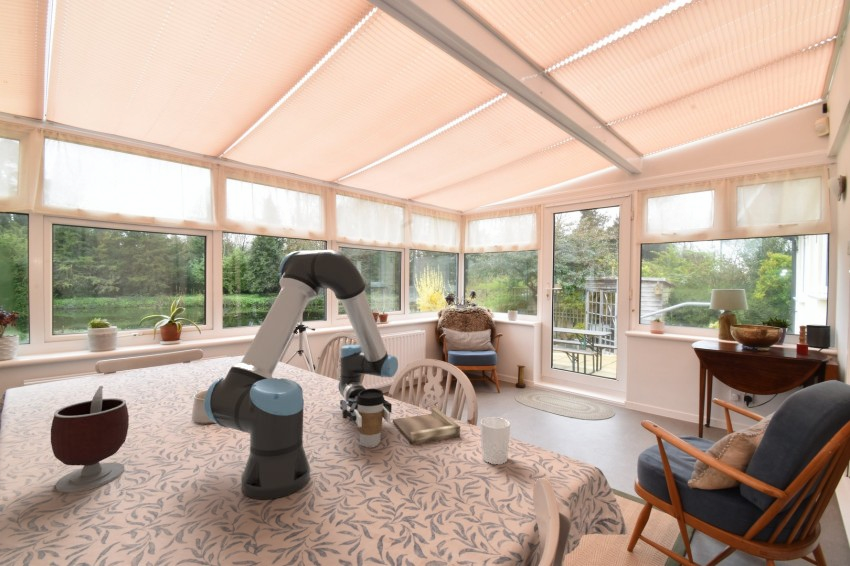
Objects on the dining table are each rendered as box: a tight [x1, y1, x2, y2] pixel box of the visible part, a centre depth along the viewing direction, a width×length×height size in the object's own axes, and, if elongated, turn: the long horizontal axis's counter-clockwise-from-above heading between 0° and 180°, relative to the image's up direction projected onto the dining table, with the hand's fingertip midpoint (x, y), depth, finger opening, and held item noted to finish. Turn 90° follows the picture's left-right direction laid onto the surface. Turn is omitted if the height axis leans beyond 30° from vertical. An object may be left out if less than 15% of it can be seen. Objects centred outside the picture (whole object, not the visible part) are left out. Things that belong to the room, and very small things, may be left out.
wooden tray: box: [392, 407, 461, 446], centre depth 120 cm, size 16×18×3 cm
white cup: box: [480, 416, 511, 465], centre depth 101 cm, size 8×8×10 cm
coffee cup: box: [356, 388, 386, 448], centre depth 110 cm, size 8×8×15 cm
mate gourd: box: [50, 385, 130, 493], centre depth 89 cm, size 16×14×20 cm
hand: (374, 420), depth 105 cm, fingers closed on coffee cup, 8 cm apart
